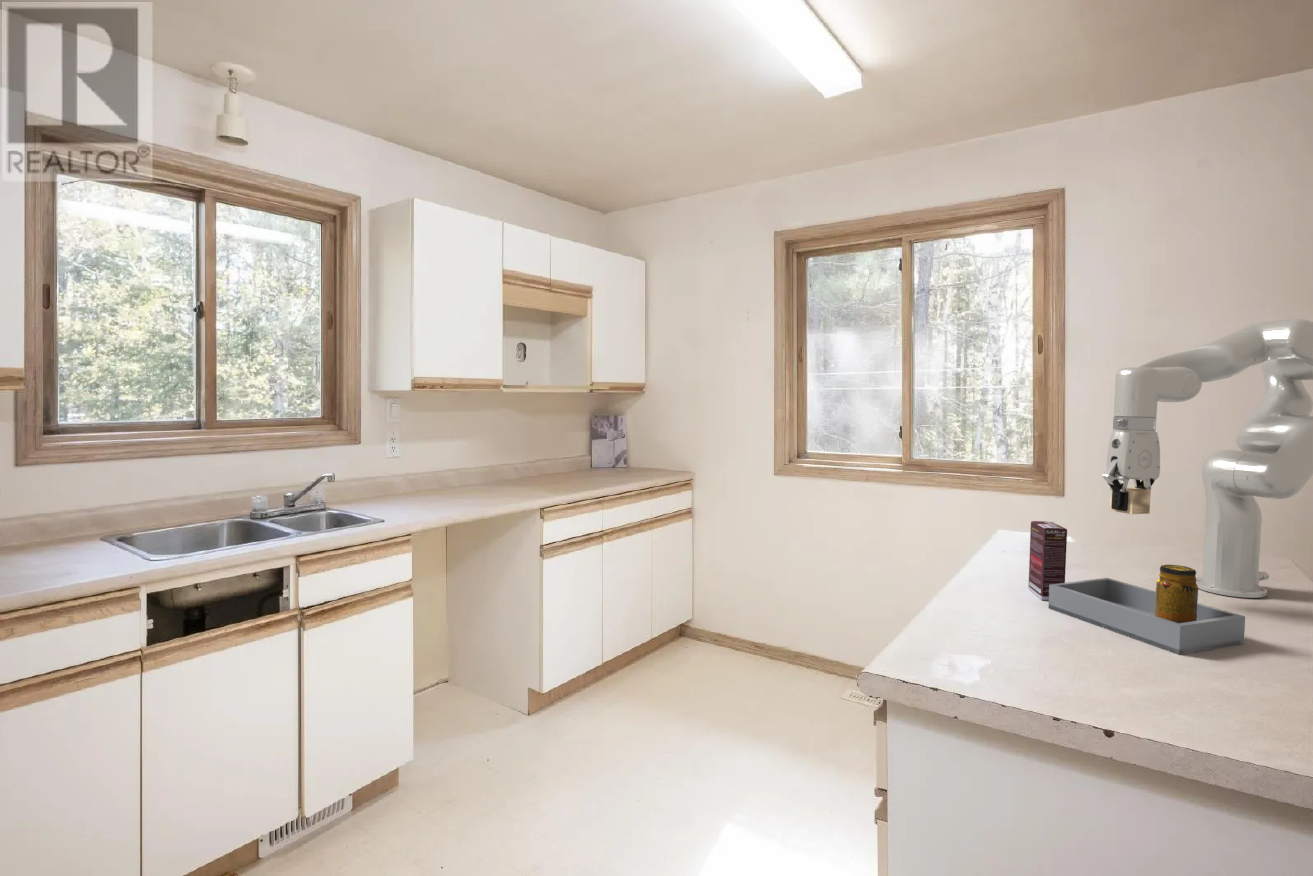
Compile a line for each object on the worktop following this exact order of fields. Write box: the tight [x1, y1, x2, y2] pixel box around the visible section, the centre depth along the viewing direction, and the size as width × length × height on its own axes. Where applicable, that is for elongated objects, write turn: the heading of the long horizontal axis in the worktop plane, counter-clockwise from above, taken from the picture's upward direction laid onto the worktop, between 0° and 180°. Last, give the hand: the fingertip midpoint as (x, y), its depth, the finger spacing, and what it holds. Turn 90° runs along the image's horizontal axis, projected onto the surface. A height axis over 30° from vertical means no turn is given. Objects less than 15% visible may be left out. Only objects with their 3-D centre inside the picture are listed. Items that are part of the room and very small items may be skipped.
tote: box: [1048, 577, 1246, 656], centre depth 128 cm, size 16×26×5 cm, turn 17°
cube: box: [1109, 486, 1152, 515], centre depth 144 cm, size 5×5×5 cm
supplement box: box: [1028, 520, 1068, 602], centre depth 147 cm, size 9×5×16 cm, turn 168°
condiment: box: [1155, 564, 1199, 623], centre depth 121 cm, size 7×8×12 cm
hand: (1129, 508), depth 144 cm, fingers closed on cube, 5 cm apart
